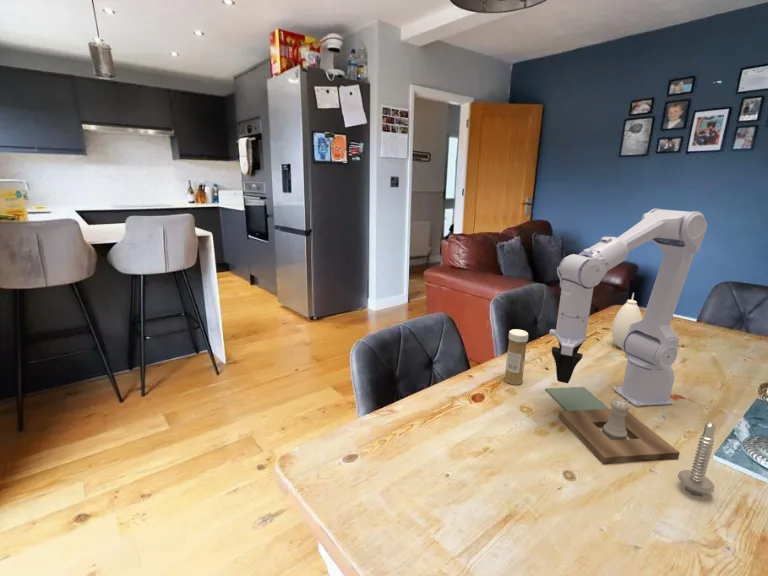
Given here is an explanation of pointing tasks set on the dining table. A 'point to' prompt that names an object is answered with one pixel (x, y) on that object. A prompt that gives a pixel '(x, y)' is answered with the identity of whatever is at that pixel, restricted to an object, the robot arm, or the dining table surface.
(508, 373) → the sprinkles bottle
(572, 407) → the rubber mat
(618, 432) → the rook chess piece
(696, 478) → the screw
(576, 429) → the socket board
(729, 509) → the dining table surface
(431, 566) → the dining table surface
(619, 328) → the rubber bulb air blower
